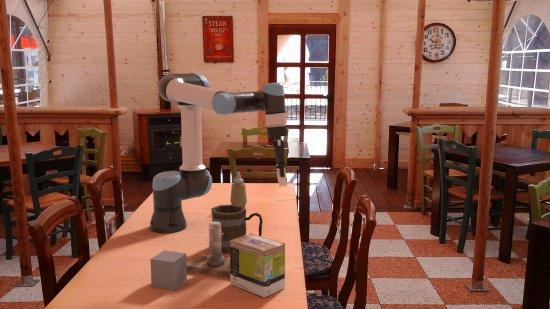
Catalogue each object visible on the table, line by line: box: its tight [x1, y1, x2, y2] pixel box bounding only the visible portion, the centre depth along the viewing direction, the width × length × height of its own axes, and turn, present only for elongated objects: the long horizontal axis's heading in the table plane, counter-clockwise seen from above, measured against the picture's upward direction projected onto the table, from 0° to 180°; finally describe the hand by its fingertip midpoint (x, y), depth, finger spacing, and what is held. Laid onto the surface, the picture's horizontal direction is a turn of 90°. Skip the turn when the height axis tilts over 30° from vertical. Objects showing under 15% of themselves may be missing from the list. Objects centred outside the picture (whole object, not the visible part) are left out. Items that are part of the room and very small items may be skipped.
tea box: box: [229, 233, 286, 299], centre depth 154 cm, size 15×10×15 cm
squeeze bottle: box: [230, 171, 248, 208], centre depth 240 cm, size 8×8×18 cm
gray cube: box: [149, 250, 188, 291], centre depth 156 cm, size 8×8×9 cm
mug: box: [210, 203, 264, 255], centre depth 187 cm, size 20×14×15 cm
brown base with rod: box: [186, 221, 230, 279], centre depth 167 cm, size 20×10×16 cm, turn 72°
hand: (282, 183), depth 182 cm, fingers open, 13 cm apart
